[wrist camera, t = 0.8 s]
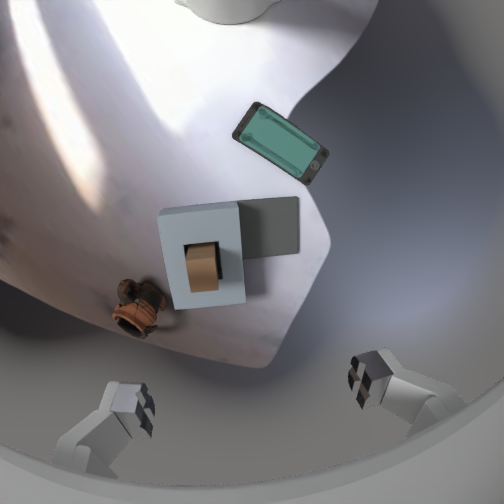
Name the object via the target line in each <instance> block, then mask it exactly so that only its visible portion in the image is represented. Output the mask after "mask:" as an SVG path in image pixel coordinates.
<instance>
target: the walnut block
mask: <svg viewBox="0 0 504 504" xmlns="http://www.w3.org/2000/svg"><path fill="white" fill-rule="evenodd" d="M185 262H186V268H187V274H188V280H189V285H190V291H191V293H196V292H206V291H216V290H219V285H218V262H217V253H216V244H215V241H214V242H205V243H195V244H189V248H188V252H187V256H186V260H185Z"/></svg>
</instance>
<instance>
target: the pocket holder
mask: <svg viewBox="0 0 504 504" xmlns="http://www.w3.org/2000/svg"><path fill="white" fill-rule="evenodd" d="M157 221H158V227H159V233H160V239H161V245H162V250H163V256H164V261H165V266H166V271H167V276H168V281H169V285H170V290H171V295H172V299H173V303H174V308H175V310H177V309H189V308H201V307H211V306H221V305H231V304H240V303H246V296H245V284H244V272H243V259H242V247H241V234H240V221H239V207H238V205H237V202H236V201H230V202H219V203H209V204H200V205H191V206H182V207H174V208H166V209H163V210H162V211H161V212H160V213H159V214H158V215H157ZM214 241H215V244H216V253H217V262H218V285H219V290H216V291H206V292H196V293H191V291H190V285H189V280H188V274H187V268H186V262H185V260H186V256H187V252H188V248H189V244H195V243H205V242H214Z"/></svg>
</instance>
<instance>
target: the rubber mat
mask: <svg viewBox="0 0 504 504" xmlns="http://www.w3.org/2000/svg"><path fill="white" fill-rule="evenodd" d="M236 202H237V205H238V207H239V221H240V234H241V247H242V259H250V258H259V257H269V256H278V255H287V254H297V253H298V216H297V197H296V196H295V197H279V198H265V199H252V200H241V201H236Z"/></svg>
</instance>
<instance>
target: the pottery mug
mask: <svg viewBox="0 0 504 504" xmlns="http://www.w3.org/2000/svg"><path fill="white" fill-rule="evenodd" d="M117 293H118V296H119V298H120V303H119V304H118V305H117V306H116V307H115V309H114V310H115V312H114V313H113V314H112V317H113V319H114V320H116V319H117V318H118V319H119V321H118V322H117V325H118V326H119V327H120V328H122V329H123V330H124V331H126V332H127V333H129V334H131V335H132V336H134V337H137V338H140V339H144V338H146V337H147V336H148V335H147V334H149V333H152V332H153V331H154V330H156V329H157V325H155V326H152V327H149V325H150V324H153V323H154V322H155V321H156V319H157V315H156V313H157V312H158V309H159V306H160V308H161V310H162V311H164V309H165V306H166V299H165V297H164V295H163V294H162V293H161V292H160V290H159V289H157V288H156V287H155V286H153V285H151V284H149V283H147V282H146V283H145V284H144V285H143V286H142V287H141V286H140V284H138V283H136V282H135V281H133V280H132V279H125V280H122V281H121V282H120V284H119V286H118V289H117ZM135 299H139V303H138V304H137V303H136V302H134V301H135ZM122 305H123V306H122ZM130 322H131V323H132V324H131V323H130ZM133 324H134V325H133Z"/></svg>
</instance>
